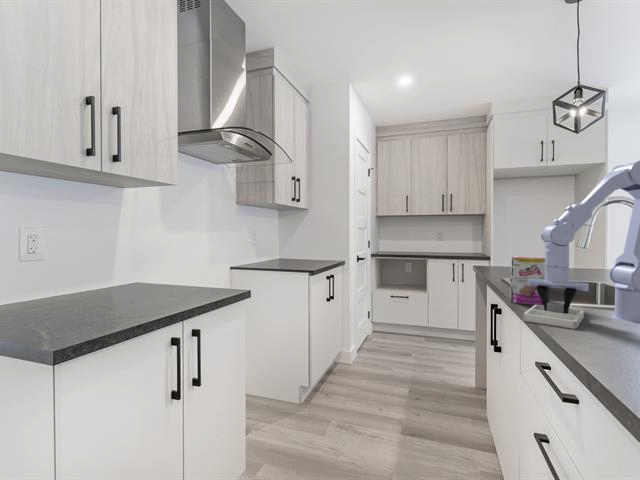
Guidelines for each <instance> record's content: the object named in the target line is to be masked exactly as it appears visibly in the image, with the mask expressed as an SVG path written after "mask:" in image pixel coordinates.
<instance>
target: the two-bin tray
mask: <svg viewBox="0 0 640 480" xmlns="http://www.w3.org/2000/svg"><path fill="white" fill-rule="evenodd" d="M584 318H585V311H584V310H582V309H576V308H575V309H574V308H569V310H568V314H565V313H558V312H550V311H545V310H544V305H533V306H532V307H530V308H529V309H528V310H526V311H524V312H523V313H522V322H528V323H533V324H534V323H535V324H542V325H546V326H547V325H548V326H552V327H553V326H554V327H561V328H567V329H573V330H577V329H578V327H580V324H581V323H582V321H583V319H584Z"/></svg>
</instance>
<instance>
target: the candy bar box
mask: <svg viewBox="0 0 640 480" xmlns="http://www.w3.org/2000/svg"><path fill="white" fill-rule="evenodd" d="M510 261H511V263H510V264H511V265H510V266H511V267H510V271H511V272H510V303H511V304H523V305H533V306H534V305H543V302H542V300H541V297H540V295H539V294H538V292H537V286H527V279H543V280H545V256H525V255H524V256H522V255H521V256H520V255H519V256H518V255H512V256H511V260H510ZM543 306H544V305H543Z"/></svg>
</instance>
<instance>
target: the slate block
mask: <svg viewBox="0 0 640 480" xmlns="http://www.w3.org/2000/svg"><path fill="white" fill-rule="evenodd" d="M547 311H550V312H558V313H564V301H554V300H549V302H547Z"/></svg>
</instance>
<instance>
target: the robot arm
mask: <svg viewBox="0 0 640 480" xmlns="http://www.w3.org/2000/svg"><path fill="white" fill-rule="evenodd" d="M618 190H623V191H624V192H626V193H628V194H629V195H630V196H631V197H632V198H633V199H634V202H633V205H632V210H631V215H630V220H629V224H628V228H627V235H626V239H625V244H624V248H623V253H622V254H620V255H619V256H618V257H617V258H616V259H615V262H614V264H613V266H612V267H611V268H610V270H609V274H608V275H609V279H610V280H611V281H612V282H613V283H614V288H615V289H614V290H615V291H614V312H613V314H612V318H611V319H612V320H619V321H624V322H625V321H627V322H634V323H640V160H638V161H634V162H631V163H626V164H620V165H616V166H615V167H613V168H612V169H611V170H610V171H608V173H606V174H605V175H604V177H603V178H602V179H601V181H599V183H598V184H597V185H596V186H595V187H594V188H593V189H592V190H591V191H590V193H588V195H587V196H586V197H585V198H584V199H583V200H581V202H580V203H574V204H573V203H572V205H568V206H567V207H565V208H564V210H565V212H563V213H562V214H561V215H560V216H559V217H558V218H557V219H556V218H555V219H554V220H553V224H551V225H548V226H546V227H545V228H544V230H543V231H542V234H540V238H541V240H542V241H543V242H544V257H545V280H543V279H527V286H537V292H538V294H539V295H540V297H541V300H542V302H543V306H544V310H545V311H547V302H549V301H550V288H553V289H563V297H564V301H563V302H564V313H565V314H568V310H569V309H570V307H571V303H572V301H573V299H574V297H575V295H576V293H577V292H578V291H583V292H589V289H590V287H589V283H585V282H577V281H570V280H569V279H570V243H572V242H573V241H574V239H575V235H576V232H578V231H579V230H580V229H581V228H582V227H583V226H584V225H585V224H587V222H588V221H589V220H590V219H591V218H592V217H593V211H594V209H595V208H597V207H598V206H599V205H600V204H601V203H603V201H605V200H606V199H607V198H609V196H610V195H611V194H613V193H614V192H615V191H618Z"/></svg>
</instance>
